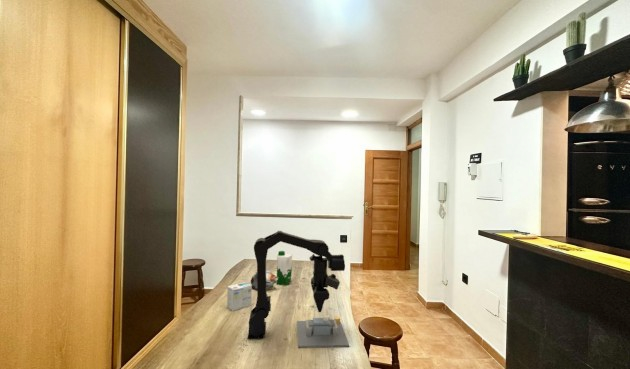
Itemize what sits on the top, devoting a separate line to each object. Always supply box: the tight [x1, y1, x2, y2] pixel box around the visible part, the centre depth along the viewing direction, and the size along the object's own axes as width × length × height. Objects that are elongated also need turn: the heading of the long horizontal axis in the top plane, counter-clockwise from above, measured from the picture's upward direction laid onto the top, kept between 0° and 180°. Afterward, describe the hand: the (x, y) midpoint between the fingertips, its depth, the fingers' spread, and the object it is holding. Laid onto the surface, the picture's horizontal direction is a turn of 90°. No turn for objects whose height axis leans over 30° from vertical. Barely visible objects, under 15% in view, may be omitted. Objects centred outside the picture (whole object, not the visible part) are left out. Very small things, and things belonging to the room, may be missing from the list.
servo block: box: [307, 317, 335, 335], centre depth 118 cm, size 11×4×6 cm, turn 95°
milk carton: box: [276, 250, 293, 286], centre depth 179 cm, size 9×9×20 cm
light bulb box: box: [226, 281, 253, 312], centre depth 143 cm, size 11×7×11 cm, turn 135°
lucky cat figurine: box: [250, 270, 278, 291], centre depth 169 cm, size 15×12×14 cm
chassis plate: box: [296, 316, 350, 349], centre depth 118 cm, size 20×20×4 cm
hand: (318, 307), depth 120 cm, fingers open, 9 cm apart
